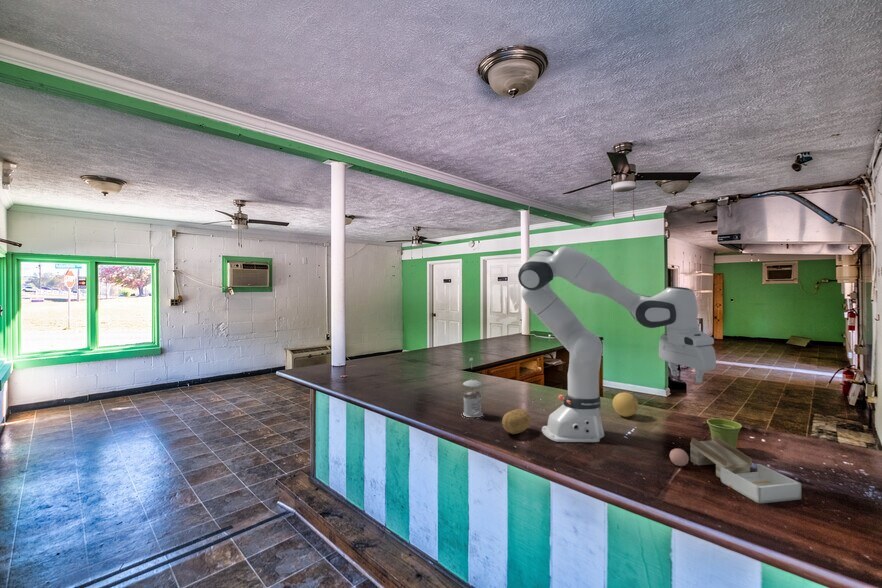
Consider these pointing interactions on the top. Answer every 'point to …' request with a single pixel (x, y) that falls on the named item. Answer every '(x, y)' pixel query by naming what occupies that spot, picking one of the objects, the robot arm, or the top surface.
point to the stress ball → (625, 404)
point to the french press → (472, 399)
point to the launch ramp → (719, 456)
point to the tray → (763, 485)
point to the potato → (516, 421)
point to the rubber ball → (679, 457)
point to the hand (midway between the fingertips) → (686, 378)
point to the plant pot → (725, 430)
